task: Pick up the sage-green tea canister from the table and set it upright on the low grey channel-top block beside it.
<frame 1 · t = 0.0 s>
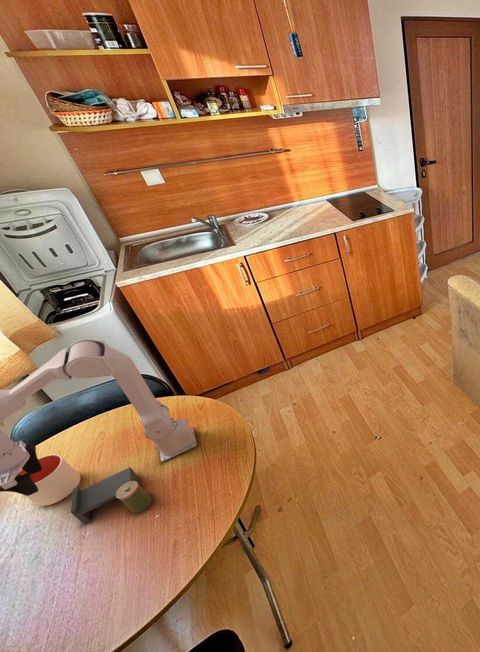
hand: (35, 481, 99), 10 cm above the table, tool pointing down, fingers open, 7 cm apart
canister: (141, 504, 104), on the table
cup: (60, 490, 107), on the table
grey channel-top block: (112, 498, 105), on the table
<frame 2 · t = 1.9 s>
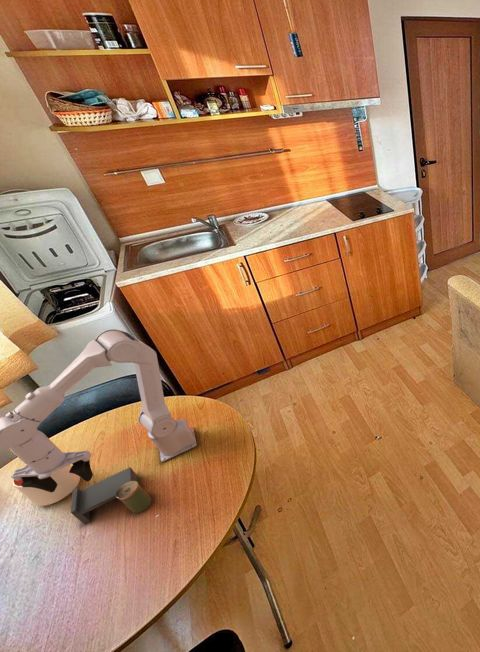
hand: (72, 483, 99), 10 cm above the table, tool pointing down, fingers open, 7 cm apart
nothing on the table moved.
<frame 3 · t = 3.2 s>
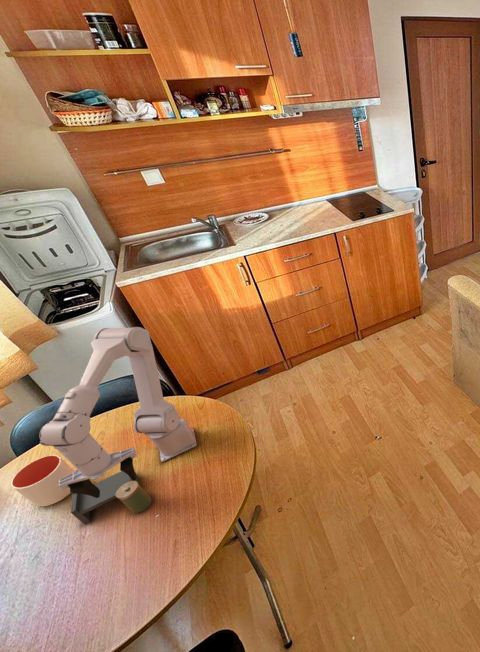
hand: (116, 485, 98), 10 cm above the table, tool pointing down, fingers open, 7 cm apart
nothing on the table moved.
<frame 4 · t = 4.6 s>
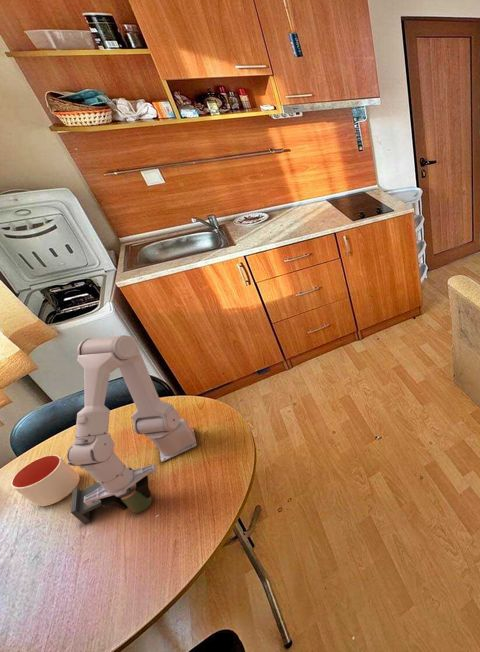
hand: (137, 500, 102), 2 cm above the table, tool pointing down, fingers closed on canister, 4 cm apart
canister: (141, 504, 104), on the table, touching gripper
everything else where it was.
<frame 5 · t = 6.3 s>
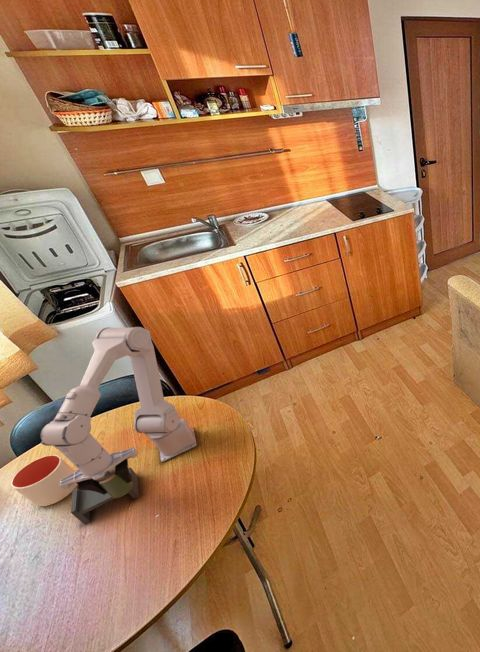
hand: (117, 485, 99), 9 cm above the table, tool pointing down, fingers closed on canister, 4 cm apart
canister: (122, 489, 100), point 7 cm above the table, touching gripper
everything else where it was.
when the fingers open (7 cm above the table, at t = 8.3 s): canister stays where it is, resting on grey channel-top block.
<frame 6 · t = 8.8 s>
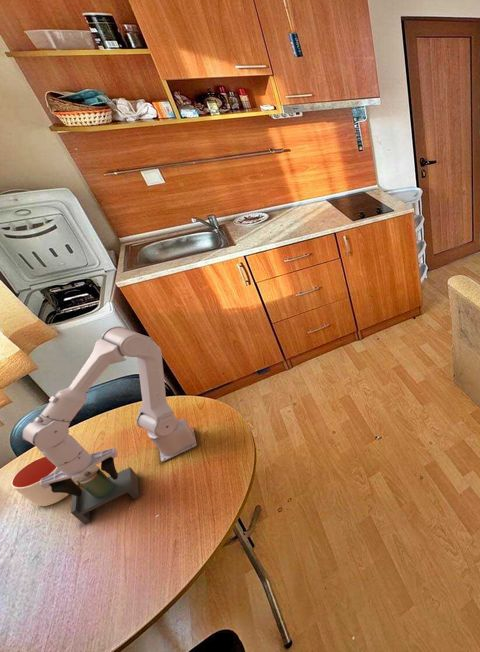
hand: (98, 484, 101), 7 cm above the table, tool pointing down, fingers open, 7 cm apart
canister: (103, 489, 103), point 4 cm above the table, touching grey channel-top block
everything else where it was.
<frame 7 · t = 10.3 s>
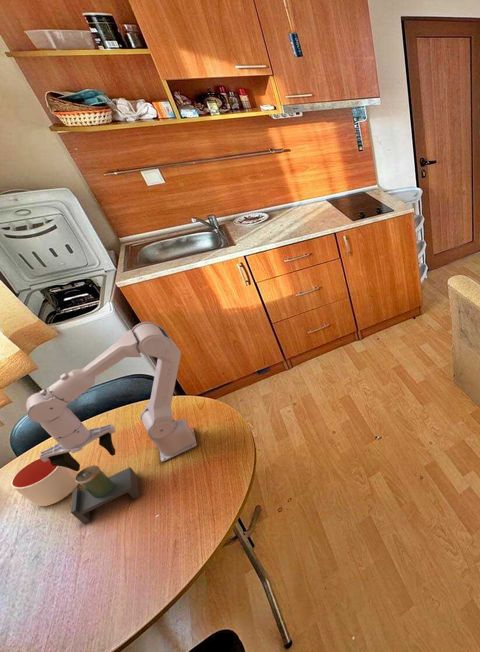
hand: (96, 460, 104), 10 cm above the table, tool pointing down, fingers open, 7 cm apart
nothing on the table moved.
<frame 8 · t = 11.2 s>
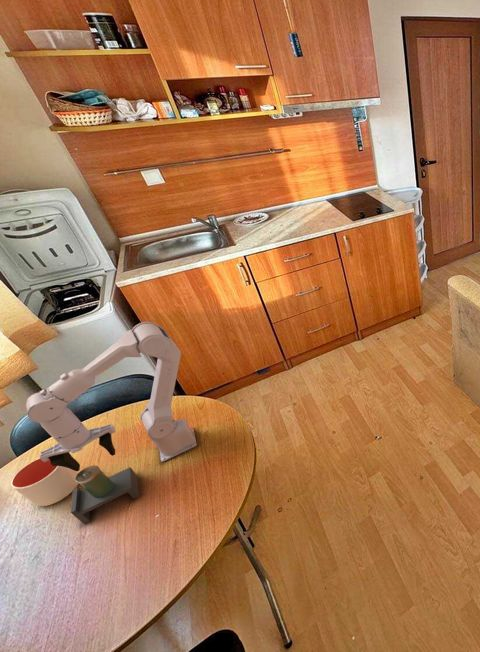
hand: (96, 460, 104), 10 cm above the table, tool pointing down, fingers open, 7 cm apart
nothing on the table moved.
at the end: canister inside the target area on the grey channel-top block (0.0 cm from its centre), point 4.5 cm above the grey channel-top block's base; canister tilted 0°; the gripper is holding nothing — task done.
